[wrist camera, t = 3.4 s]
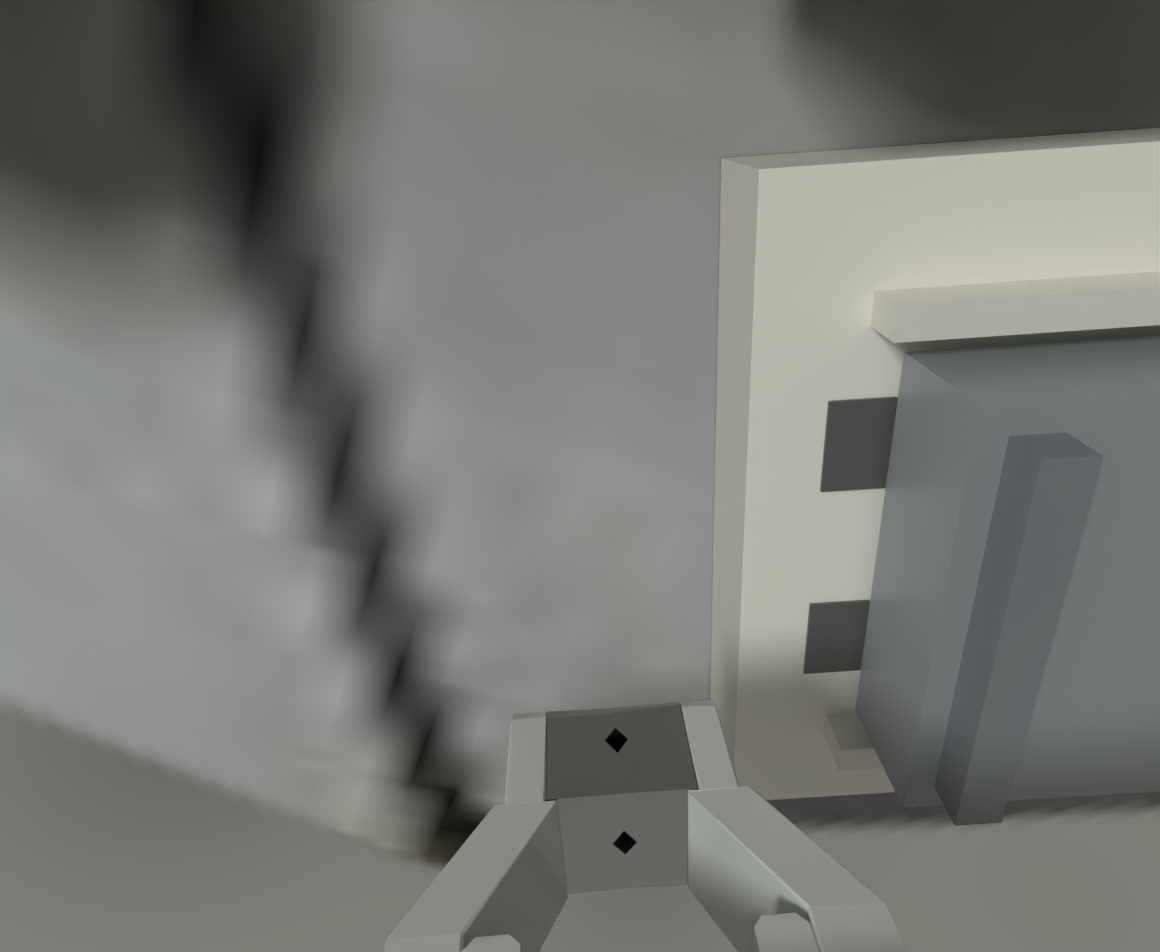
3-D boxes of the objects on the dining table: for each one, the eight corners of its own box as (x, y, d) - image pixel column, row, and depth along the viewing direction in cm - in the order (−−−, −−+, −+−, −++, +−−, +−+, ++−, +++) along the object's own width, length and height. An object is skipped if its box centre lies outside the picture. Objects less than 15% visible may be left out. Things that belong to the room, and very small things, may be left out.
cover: (1323, 324, 12) (1564, 390, 9) (1179, 689, 16) (1321, 822, 13) (904, 352, 12) (1011, 427, 9) (855, 710, 16) (921, 846, 13)
